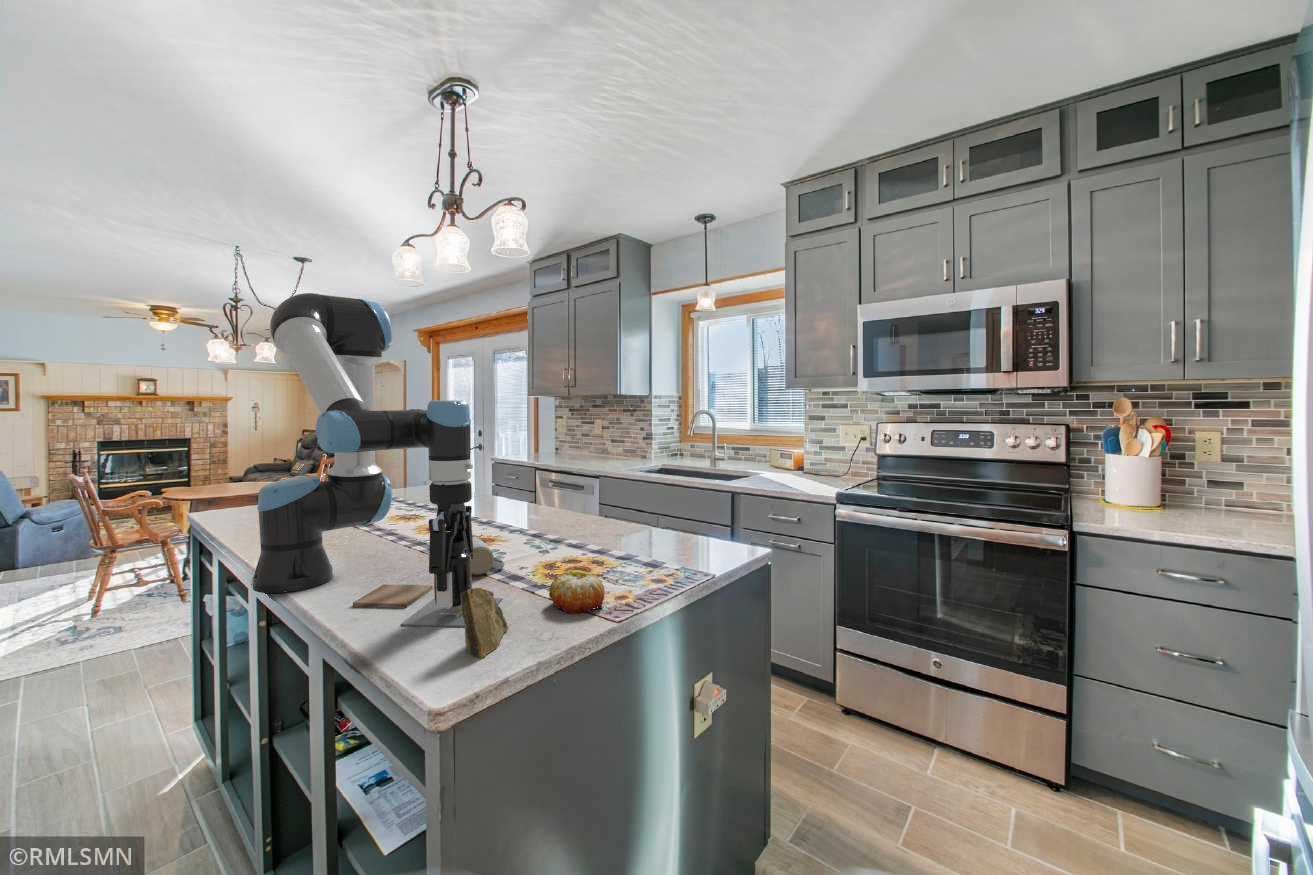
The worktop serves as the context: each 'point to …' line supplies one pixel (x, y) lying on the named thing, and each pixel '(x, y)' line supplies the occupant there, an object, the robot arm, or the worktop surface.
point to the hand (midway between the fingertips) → (453, 599)
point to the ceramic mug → (483, 558)
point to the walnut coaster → (393, 596)
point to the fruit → (577, 591)
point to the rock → (482, 621)
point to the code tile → (438, 616)
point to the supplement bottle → (458, 571)
